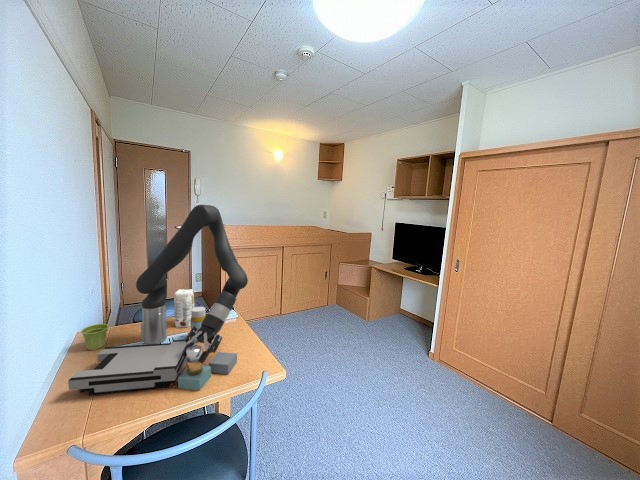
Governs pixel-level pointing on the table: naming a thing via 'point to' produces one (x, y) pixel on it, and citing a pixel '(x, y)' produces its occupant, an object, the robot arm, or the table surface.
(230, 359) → the stand
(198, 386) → the stand
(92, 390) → the office tray
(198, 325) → the bottle
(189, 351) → the salt shaker
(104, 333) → the plant pot
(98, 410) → the table surface
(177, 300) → the juice carton
